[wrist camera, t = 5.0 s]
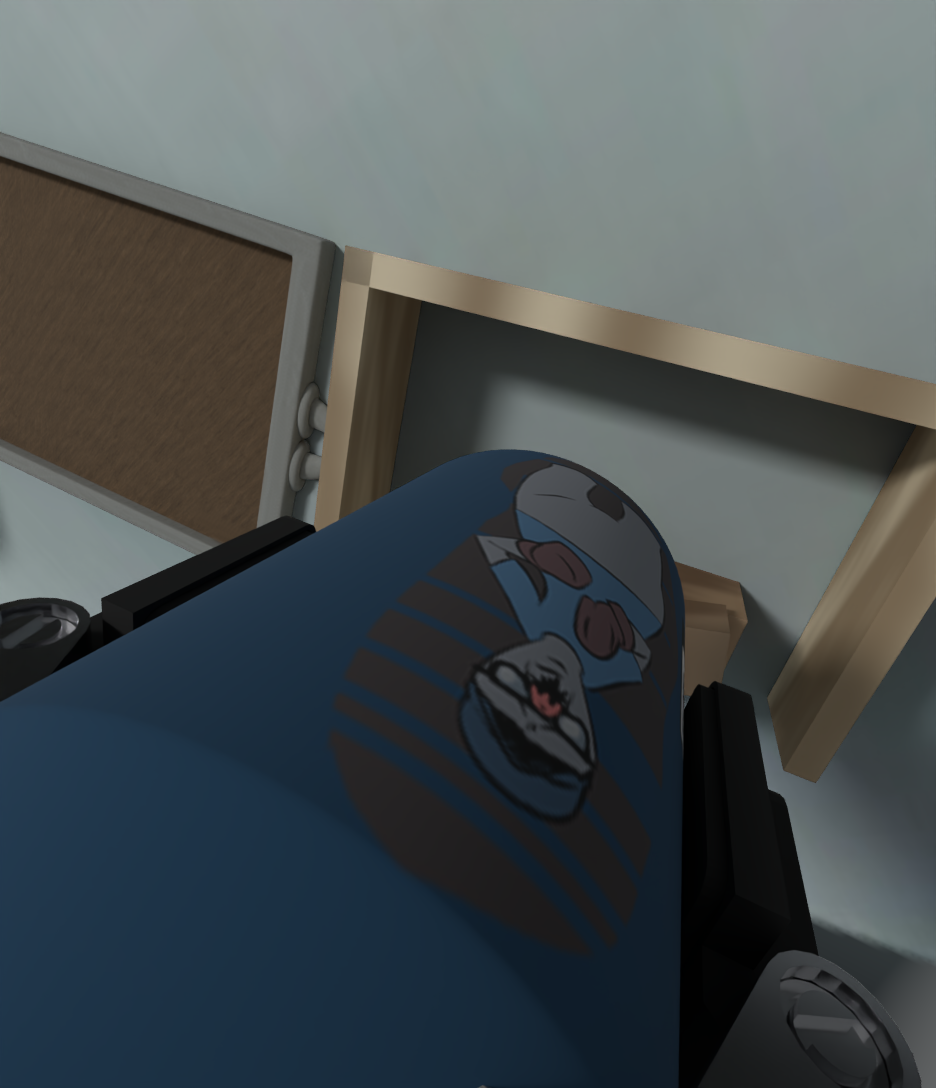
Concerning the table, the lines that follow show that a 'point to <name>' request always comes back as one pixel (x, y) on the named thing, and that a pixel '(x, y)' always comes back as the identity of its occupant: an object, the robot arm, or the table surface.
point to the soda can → (365, 810)
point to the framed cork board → (156, 347)
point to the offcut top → (704, 643)
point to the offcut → (716, 598)
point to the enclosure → (911, 488)
